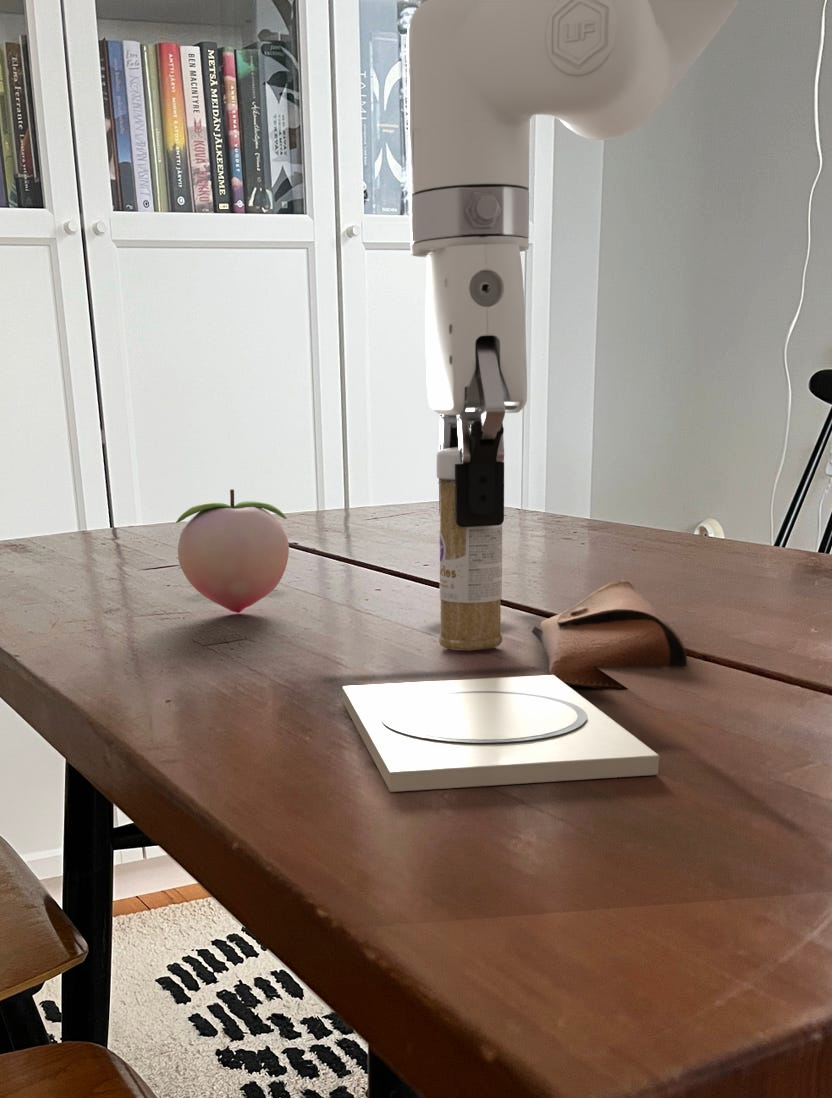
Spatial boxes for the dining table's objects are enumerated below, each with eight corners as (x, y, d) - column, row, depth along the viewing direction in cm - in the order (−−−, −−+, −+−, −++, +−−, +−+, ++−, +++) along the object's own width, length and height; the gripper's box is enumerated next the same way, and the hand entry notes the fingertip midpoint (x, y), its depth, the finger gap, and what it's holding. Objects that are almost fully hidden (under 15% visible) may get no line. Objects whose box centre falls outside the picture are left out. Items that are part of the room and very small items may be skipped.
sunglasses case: (524, 627, 93) (573, 547, 91) (603, 673, 94) (654, 596, 92) (547, 682, 77) (608, 586, 74) (644, 738, 78) (707, 645, 75)
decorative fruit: (213, 627, 100) (205, 496, 97) (168, 613, 107) (159, 490, 103) (314, 613, 105) (309, 488, 101) (265, 601, 111) (259, 483, 108)
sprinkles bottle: (429, 643, 91) (425, 448, 86) (487, 637, 92) (486, 444, 88) (454, 655, 87) (452, 450, 82) (514, 648, 88) (515, 446, 83)
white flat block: (553, 690, 77) (554, 672, 77) (658, 775, 60) (660, 752, 60) (342, 702, 76) (341, 684, 75) (390, 792, 59) (389, 769, 58)
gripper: (565, 207, 73) (558, 531, 79) (495, 240, 88) (495, 508, 95) (437, 210, 72) (441, 538, 78) (390, 243, 88) (396, 513, 94)
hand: (470, 518), depth 86 cm, fingers closed on sprinkles bottle, 4 cm apart
